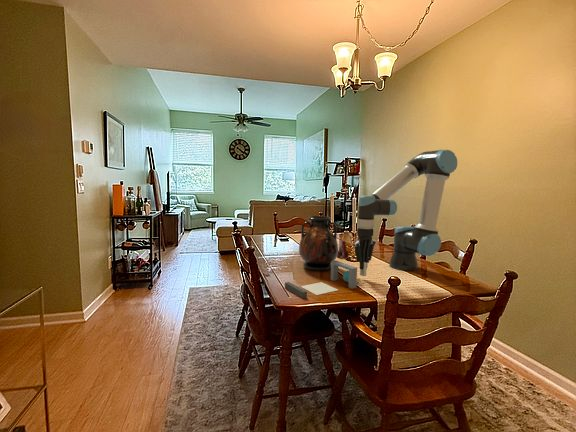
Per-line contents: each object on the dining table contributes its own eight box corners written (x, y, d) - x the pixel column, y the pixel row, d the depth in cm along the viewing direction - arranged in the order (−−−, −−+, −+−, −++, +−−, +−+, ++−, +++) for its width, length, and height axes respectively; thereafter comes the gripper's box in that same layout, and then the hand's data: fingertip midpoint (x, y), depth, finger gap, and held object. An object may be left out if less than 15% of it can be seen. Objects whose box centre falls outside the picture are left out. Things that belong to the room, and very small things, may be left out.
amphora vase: (336, 263, 181) (338, 215, 178) (338, 274, 159) (340, 220, 156) (299, 261, 183) (300, 214, 180) (297, 272, 161) (298, 219, 158)
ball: (338, 278, 148) (346, 281, 151) (346, 282, 143) (354, 285, 146) (343, 267, 148) (350, 271, 151) (350, 271, 144) (358, 274, 146)
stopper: (288, 287, 139) (288, 281, 138) (306, 297, 127) (306, 291, 127) (284, 287, 138) (284, 282, 137) (302, 298, 126) (302, 292, 126)
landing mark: (321, 282, 146) (321, 282, 146) (338, 290, 136) (338, 289, 136) (300, 286, 140) (300, 286, 140) (316, 295, 130) (316, 294, 130)
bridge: (335, 278, 152) (335, 260, 151) (356, 287, 140) (357, 267, 139) (330, 279, 151) (331, 261, 149) (351, 288, 138) (352, 268, 137)
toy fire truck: (338, 259, 191) (339, 242, 190) (334, 254, 203) (334, 238, 202) (349, 259, 191) (350, 242, 190) (344, 254, 204) (345, 238, 203)
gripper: (369, 225, 156) (366, 271, 158) (349, 227, 149) (347, 275, 152) (380, 227, 149) (378, 275, 152) (361, 229, 143) (358, 279, 145)
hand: (363, 275), depth 152 cm, fingers closed
